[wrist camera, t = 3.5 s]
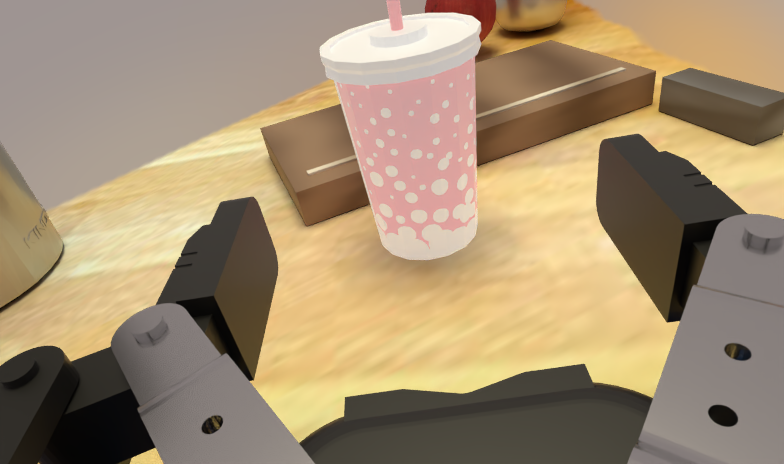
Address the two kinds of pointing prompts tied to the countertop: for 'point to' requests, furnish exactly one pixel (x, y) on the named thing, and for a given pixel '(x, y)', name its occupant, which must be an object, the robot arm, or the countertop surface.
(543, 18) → the plastic bottle
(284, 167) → the walnut board
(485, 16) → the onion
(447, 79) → the beverage cup
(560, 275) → the countertop surface
